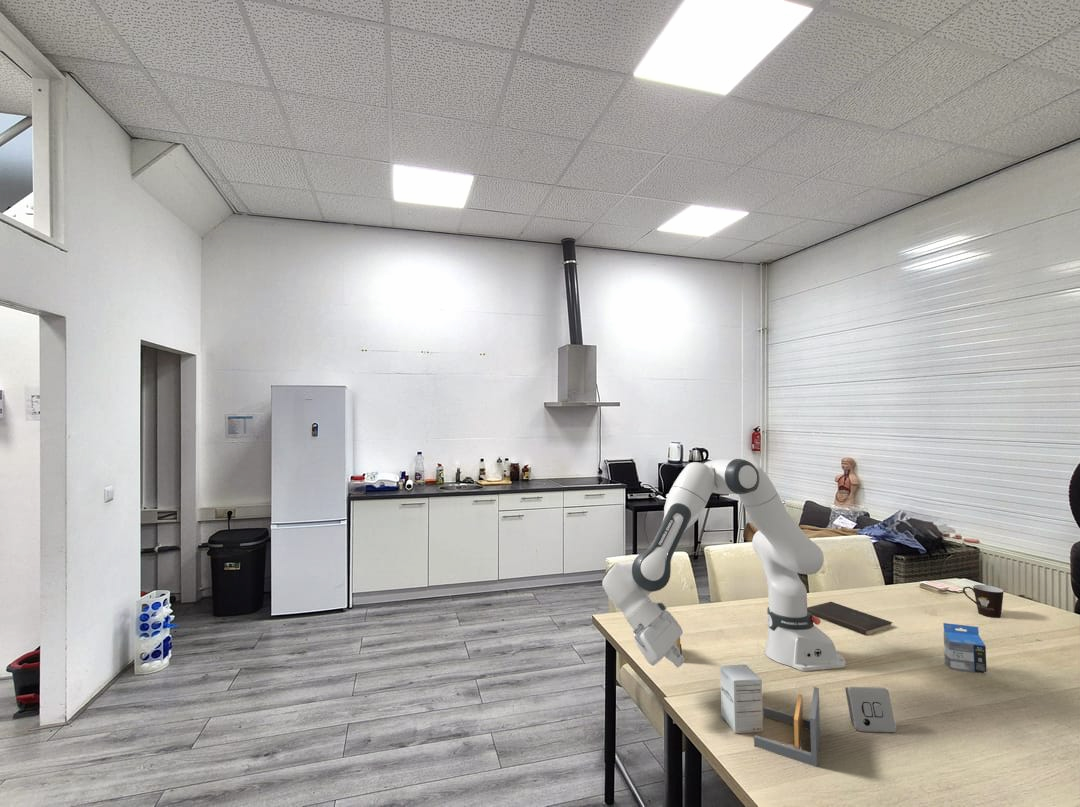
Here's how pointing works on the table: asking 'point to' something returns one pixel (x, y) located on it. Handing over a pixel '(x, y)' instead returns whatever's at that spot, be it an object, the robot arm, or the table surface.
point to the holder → (810, 724)
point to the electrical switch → (870, 709)
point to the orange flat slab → (798, 722)
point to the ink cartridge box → (964, 649)
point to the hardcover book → (849, 618)
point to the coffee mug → (987, 600)
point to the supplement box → (741, 698)
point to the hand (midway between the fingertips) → (681, 664)
